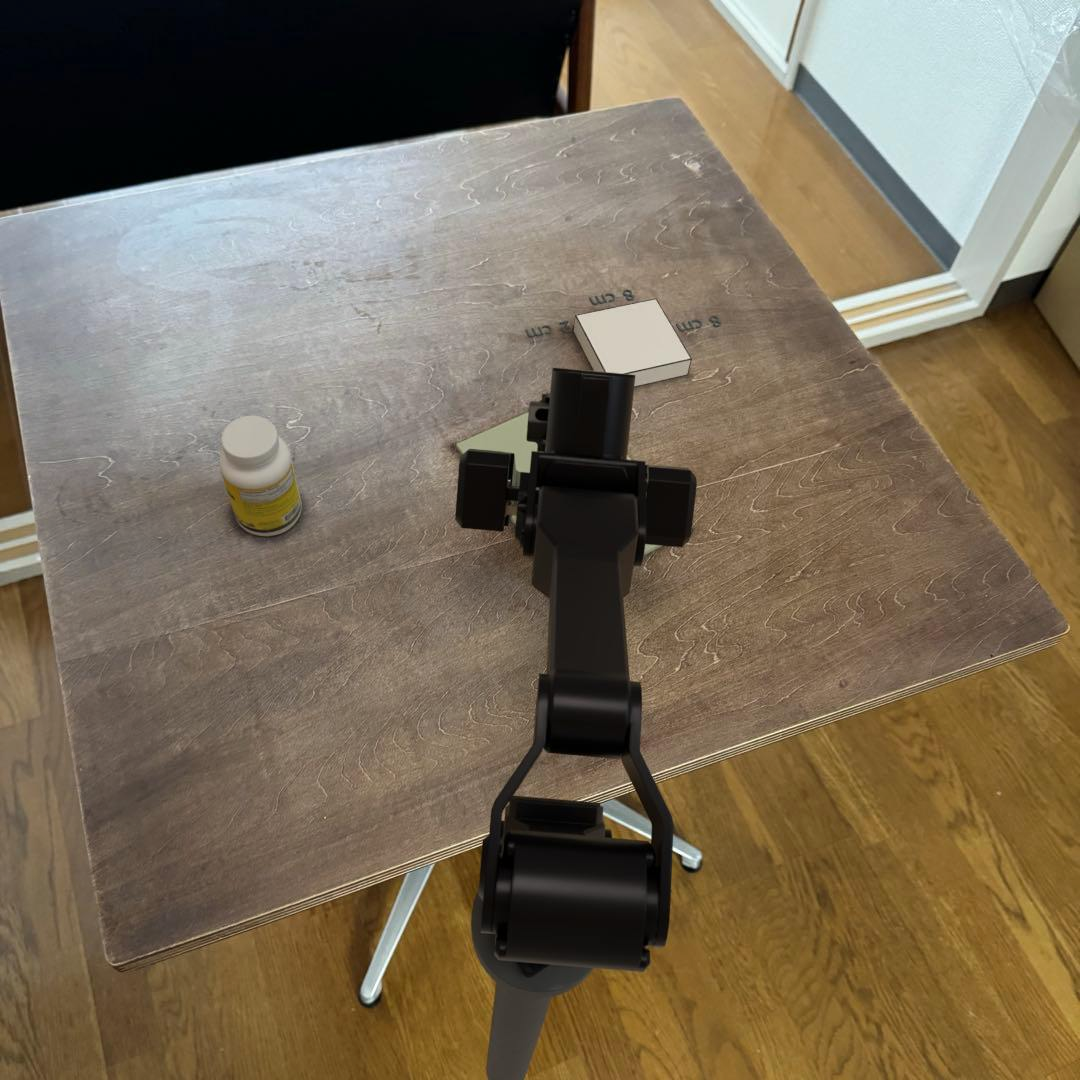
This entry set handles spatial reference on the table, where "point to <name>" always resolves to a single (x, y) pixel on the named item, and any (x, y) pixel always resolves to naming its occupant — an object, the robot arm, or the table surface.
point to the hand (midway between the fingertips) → (572, 485)
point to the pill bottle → (259, 476)
